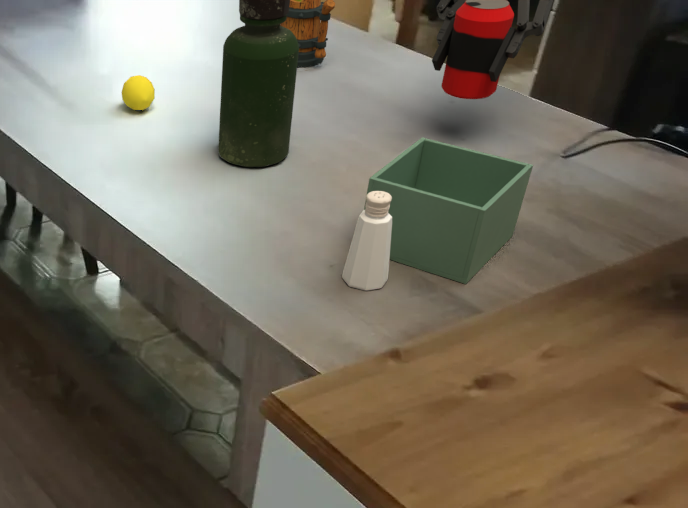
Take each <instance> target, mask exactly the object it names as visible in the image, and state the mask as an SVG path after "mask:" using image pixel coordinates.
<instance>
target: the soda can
mask: <svg viewBox="0 0 688 508" xmlns="http://www.w3.org/2000/svg"><path fill="white" fill-rule="evenodd" d="M514 18H515V13H514V11H513V8H512V6H511V5H510V2H509V1H508V0H466V2H465V3H464V4H463V5H462V6H461V7H460V8H459V9H458V10H457V11H456V16H455V21H454V26H453V31H452V36H451V41H450V46H449V51H448V55H447V57H446V60H445V62H446V63H445V65H444V70H443V76H442V82H441V89H442V90H443V92H444V93H445V94H446V95H448V96H451V97H454V98H457V99H463V100H481V99H486V98H489V97H491V96H492V95H493V94H494V93H495V92H496V91H497V89H498V84H499V80H500V77H501V74H500V75H499V77H498V79H497V81H496V82H493V81H491V79H490V75H489V70H490V67H491V65H492V63H493V61H494V59H495V57H496V55H497V53H498V51H499V49H500V47H501V45H502V43H503V41H504V39H505V36H506V34H507V33H508V31H509V29H510V27H512V25H513V22H514Z"/></svg>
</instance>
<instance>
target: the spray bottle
mask: <svg viewBox="0 0 688 508" xmlns="http://www.w3.org/2000/svg"><path fill="white" fill-rule="evenodd" d="M238 3H239V4H238V12H239V20H240V22H241V23H242V24H244V25H242V26H240V27H237V28H235V29H233V30H232V31H231V33H230V34H229V35H228V36H227V37H226V38H225V40H224V43H223V45H222V46H223V47H222V62H221V63H222V65H221V67H222V69H221V82H220V83H221V85H220V90H221V91H220V104H219V125H218V126H219V127H218V145H217V150H218V155H219V157H220V158H221V159H223V160H224V161H226V162H228V164H232V165H235V166H240V167H246V168H261V167H262V168H263V167H270V166H272V165H275V164H279V163H280V162H282V161H283V160H284V159H285V158H286V157H287V156H288V155H289V152H290V151H289V150H290V140H291V131H292V122H293V112H294V102H295V94H296V93H295V91H296V82H297V73H298V68H297V64H298V54H299V45H298V41H297V38H296V37H295V35H294V34H293V33H292V31H290V30H289V29H287V28H285V27H283V26H280V24H281V23H283V22H285V21H286V19H287V14H288V13H289V6H290V0H238Z"/></svg>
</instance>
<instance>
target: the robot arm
mask: <svg viewBox="0 0 688 508" xmlns="http://www.w3.org/2000/svg"><path fill="white" fill-rule="evenodd" d="M530 1H531V0H517V18H516V19H517V20H516V27H512V26H511V27H510V29H509V31H508V33H507V34H506V36H505V39H504V41H503V43H502V45H501V47H500V49H499V51H498V53H497V55H496V57H495V59H494V61H493V63H492V65H491V67H490V70H489V75H490V79H491V81H493V82H496V81H497V79H498V77H499V78H500V76H501V73H502V71H503V69H504V67H505V65H506V63H507V61H508V59H515V58H516V57H517V55H518V54H519V51H520V49H521V47H522V45H523V43H524V41H525V39H526V38H528V37H529V36H535V37H540V36H542V35H543V33H544V31H545V27H546V26H547V25H546V24H547V22H548V18H549V15H550V12H551V9H552V7H553V3H554V0H539V1H538V4H537V7H536V10H535V13H534V16H533V20H532V21H531V20H530ZM465 2H466V0H439V2H438V3H437V5H436V13H437V15H438V18H439V20H440V21H443V23H442V24H441V26H440V29H439V30H438V33H437V35H436V41H437V45H438V47H437V49H436V51H435V53H434V55H433V56H432V60H431V62H432V66H433V68H434V71H436V72H437V71H438V72H440V71H441V70H442V69H443V68H442V67H443V65H444V64H445V62H446V60H447V56H448V51H449V46H450V41H451V36H452V31H453V26H454V21H455V16H456V11H457V10H458V9H459V8H460V7H461V6H462V5H463V4H464V3H465ZM499 75H500V76H499Z"/></svg>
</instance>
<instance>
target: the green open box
mask: <svg viewBox="0 0 688 508" xmlns="http://www.w3.org/2000/svg"><path fill="white" fill-rule="evenodd" d="M533 167H534V164H532V163H527V162H523V161H520V160H515V159H511V158H508V157H504V156H503V157H502V156H499V155H495V154H491V153H487V152H483V151H479V150H476V149H475V150H474V149H472V148H471V149H470V148H467V147H462V146H459V145H458V146H457V145H455V144H454V145H453V144H450V143H447V142H446V143H445V142H442V141H440V140H439V141H438V140H436V139H435V140H434V139H431V138H426V137H423V136H422V137H420V138H419V139H418V140H416V142H414V143H413V144H412V145H411V146H409V147H408V148H406V149H405V150H404V151H402V152H401V153H399V155H397V156H396V157H395V158H394V159H392V160H391V161H389V162H388V163H387V164H386V165H384V166H383V167H381V169H379V170H377V172H376V173H374V174H373V175H372V176H370V177H369V178H368V183H367V184H368V185H367V191H366V195H367V194H368V193H370V192H372V191H384V192H387V193H389V194H390V195H391V197H392V200H391V202H390V208H389V210H388V213H389V214H390V215H391V216H392V232H391V245H390V259H389V261H393V262H396V263H399V264H402V265H406V266H408V267H412V268H414V269H417V270H420V271H424V272H426V273H430V274H433V275H436V276H438V277H439V276H440V277H442V278H445V279H448V280H451V281H455V282H457V283H460V284H464V285H467V284H468V283H469V282H470V281H471V279H473V278H474V277H475V275H477V273H478V272H480V270H481V269H482V268H483V267H484V266H485V265H486V264H487V263H488V262H489V261H490V260H491V259H492V258H493V257H494V256H495V255H496V254H497V253H498V252H499V251H500V249H502V248H503V247H504V246H505V245H506V244H507V242H509V240H510V239H511V238H512V237H514V232H515V229H516V226H517V221H518V219H519V215H520V212H521V209H522V205H523V203H524V202H523V201H524V198H525V194H526V191H527V187H528V184H529V181H530V177H531V174H532V171H533ZM366 202H367V201H366V200H365V202H364V206H365V205H366ZM365 209H366V208H365V207H364V208H363V210H365Z"/></svg>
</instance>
